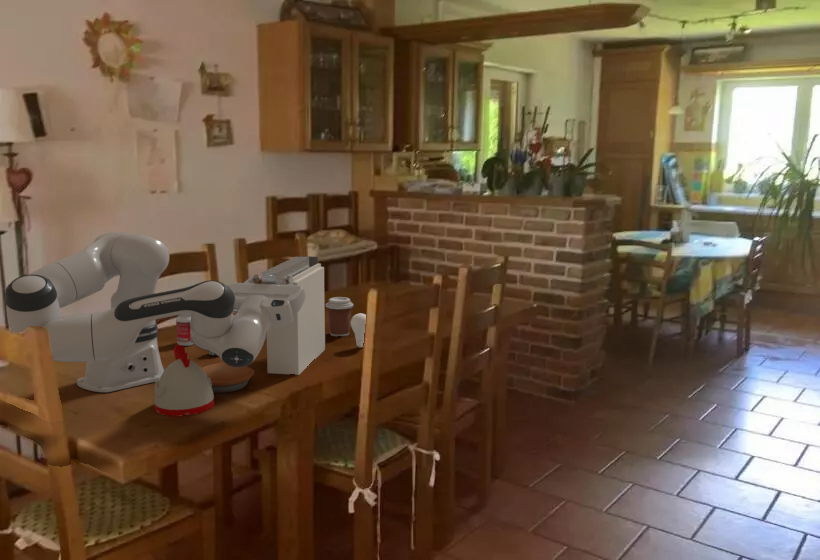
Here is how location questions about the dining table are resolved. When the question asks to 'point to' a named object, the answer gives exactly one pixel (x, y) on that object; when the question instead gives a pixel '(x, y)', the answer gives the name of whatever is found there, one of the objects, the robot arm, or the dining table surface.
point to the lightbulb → (359, 328)
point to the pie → (227, 377)
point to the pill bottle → (184, 330)
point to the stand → (300, 327)
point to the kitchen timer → (183, 387)
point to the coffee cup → (339, 315)
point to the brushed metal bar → (285, 270)
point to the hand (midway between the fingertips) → (273, 277)
